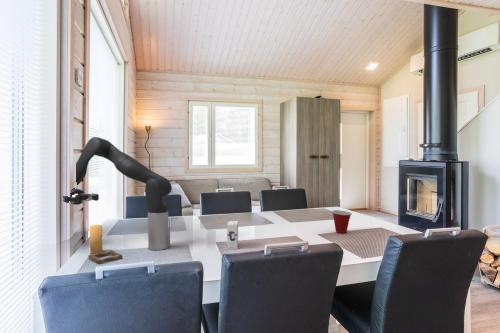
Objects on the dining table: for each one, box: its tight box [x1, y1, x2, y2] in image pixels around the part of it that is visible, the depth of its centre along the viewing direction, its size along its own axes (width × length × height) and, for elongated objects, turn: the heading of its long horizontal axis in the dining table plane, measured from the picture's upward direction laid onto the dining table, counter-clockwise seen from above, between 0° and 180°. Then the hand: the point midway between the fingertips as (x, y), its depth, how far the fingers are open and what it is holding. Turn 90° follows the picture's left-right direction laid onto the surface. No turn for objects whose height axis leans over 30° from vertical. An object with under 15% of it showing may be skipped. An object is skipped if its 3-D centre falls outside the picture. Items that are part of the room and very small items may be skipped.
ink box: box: [226, 220, 239, 250], centre depth 154 cm, size 8×5×12 cm, turn 0°
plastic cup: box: [331, 209, 353, 235], centre depth 181 cm, size 11×11×12 cm
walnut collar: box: [87, 250, 123, 265], centre depth 136 cm, size 10×10×2 cm
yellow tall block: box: [89, 224, 103, 255], centre depth 145 cm, size 5×5×12 cm
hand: (87, 199), depth 145 cm, fingers open, 8 cm apart
